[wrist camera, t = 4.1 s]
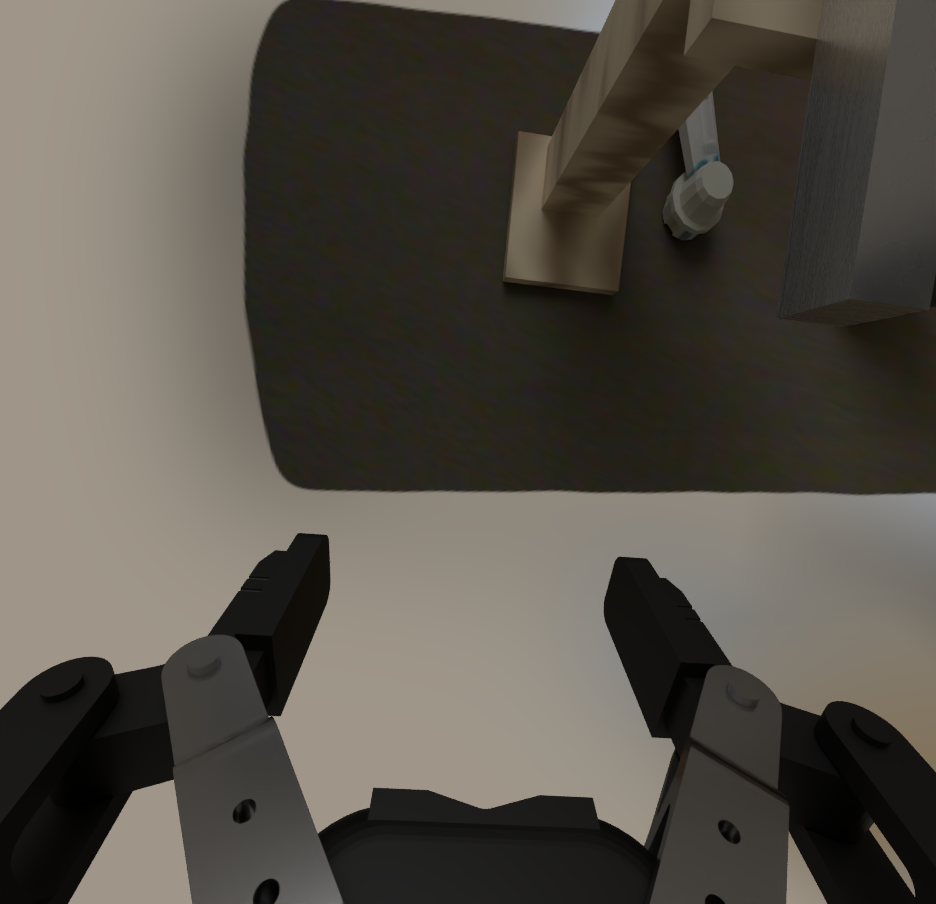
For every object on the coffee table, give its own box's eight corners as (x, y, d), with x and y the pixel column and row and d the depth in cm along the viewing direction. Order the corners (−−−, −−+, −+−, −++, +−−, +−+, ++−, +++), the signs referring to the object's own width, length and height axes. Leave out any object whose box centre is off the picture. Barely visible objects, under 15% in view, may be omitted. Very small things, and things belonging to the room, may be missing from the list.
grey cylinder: (712, -55, 41) (757, 203, 40) (673, 19, 47) (710, 241, 47) (660, -53, 40) (703, 208, 39) (627, 21, 47) (664, 246, 46)
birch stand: (628, 148, 45) (1104, -463, 14) (611, 304, 47) (1006, 77, 15) (516, 130, 44) (754, -592, 12) (501, 291, 45) (682, 11, 14)
